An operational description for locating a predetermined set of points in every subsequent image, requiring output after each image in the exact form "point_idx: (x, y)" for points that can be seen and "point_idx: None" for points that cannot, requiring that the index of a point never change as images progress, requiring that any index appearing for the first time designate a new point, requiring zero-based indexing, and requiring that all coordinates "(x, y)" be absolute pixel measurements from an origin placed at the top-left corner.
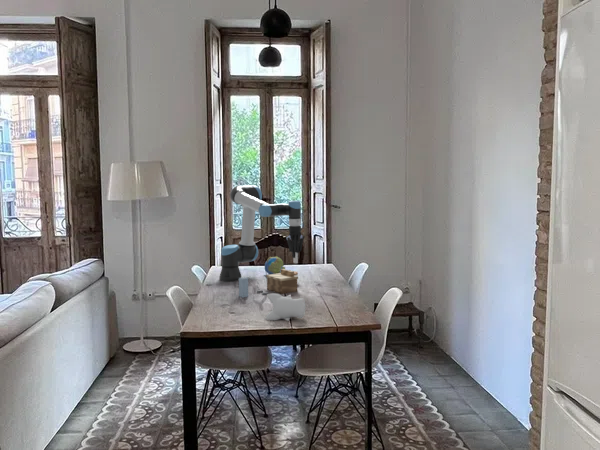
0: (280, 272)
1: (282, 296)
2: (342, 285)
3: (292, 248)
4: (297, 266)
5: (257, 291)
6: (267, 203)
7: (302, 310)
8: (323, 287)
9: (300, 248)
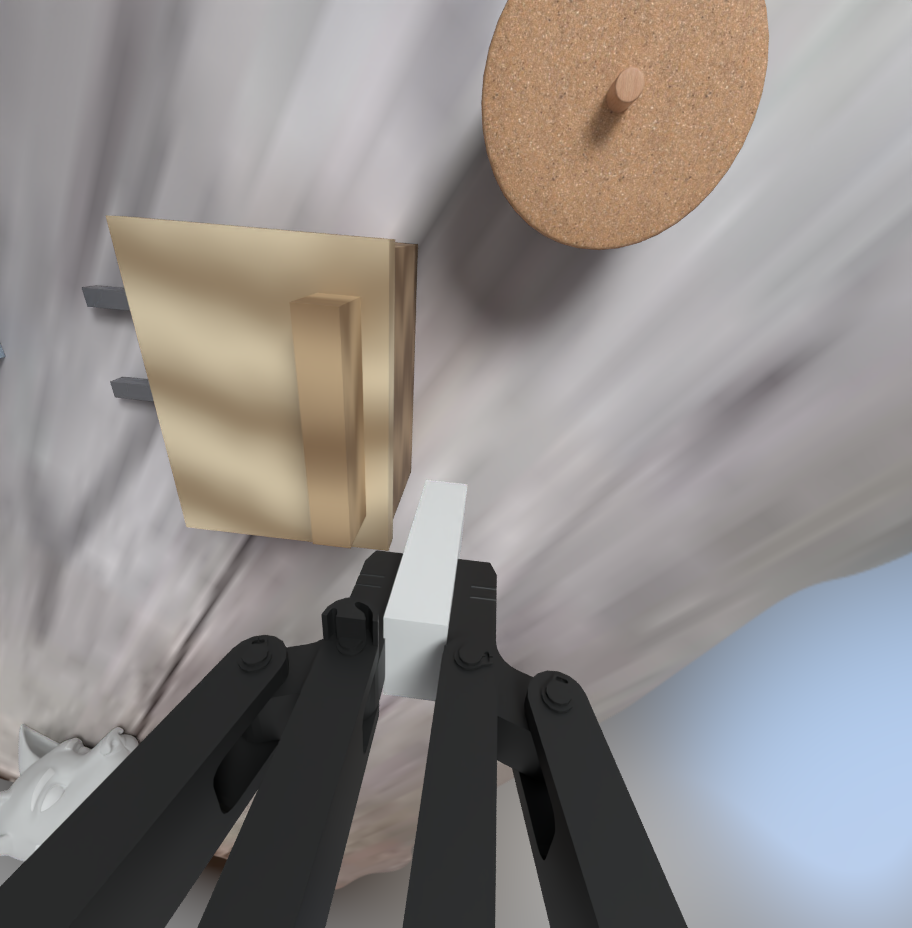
0: None
1: (11, 854)
2: (843, 543)
3: (235, 813)
4: None
5: (88, 303)
6: None
7: None
8: (673, 497)
9: (541, 826)
